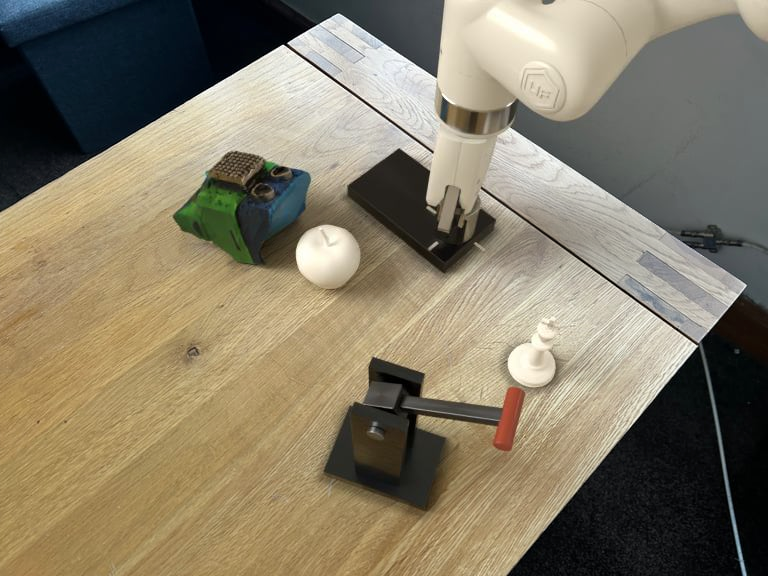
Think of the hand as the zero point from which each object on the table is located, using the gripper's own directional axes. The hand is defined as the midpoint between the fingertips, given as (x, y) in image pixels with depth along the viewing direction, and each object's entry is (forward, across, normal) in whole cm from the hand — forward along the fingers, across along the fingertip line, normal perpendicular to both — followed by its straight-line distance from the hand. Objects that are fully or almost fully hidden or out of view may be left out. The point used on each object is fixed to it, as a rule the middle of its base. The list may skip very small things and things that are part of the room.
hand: (455, 221), depth 75 cm
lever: (-12, +28, +6) cm, 31 cm away
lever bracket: (+3, +28, +1) cm, 28 cm away
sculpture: (+4, +7, -24) cm, 25 cm away
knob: (+1, 0, 0) cm, 1 cm away
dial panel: (+3, -2, -5) cm, 6 cm away
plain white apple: (+4, +10, -12) cm, 16 cm away
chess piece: (+3, +13, +12) cm, 18 cm away
